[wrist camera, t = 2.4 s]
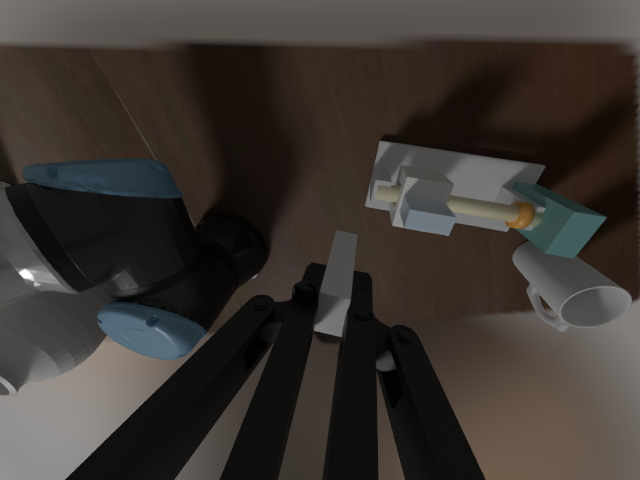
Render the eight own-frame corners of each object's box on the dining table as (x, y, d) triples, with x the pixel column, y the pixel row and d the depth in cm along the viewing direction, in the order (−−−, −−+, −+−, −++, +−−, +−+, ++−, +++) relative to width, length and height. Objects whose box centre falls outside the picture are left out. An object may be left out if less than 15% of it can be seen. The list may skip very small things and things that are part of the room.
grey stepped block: (388, 207, 34) (395, 243, 25) (400, 164, 31) (413, 189, 22) (424, 213, 34) (444, 253, 25) (440, 171, 31) (469, 198, 22)
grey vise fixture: (365, 204, 40) (363, 239, 29) (379, 140, 35) (384, 155, 24) (507, 229, 38) (559, 276, 27) (545, 165, 32) (626, 192, 22)
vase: (70, 252, 59) (-100, 336, 38) (133, 262, 57) (-9, 358, 35) (100, 304, 68) (-24, 396, 47) (155, 315, 66) (52, 416, 44)
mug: (521, 233, 37) (579, 281, 27) (569, 238, 37) (647, 290, 26) (495, 282, 42) (535, 339, 32) (536, 288, 42) (591, 348, 31)
